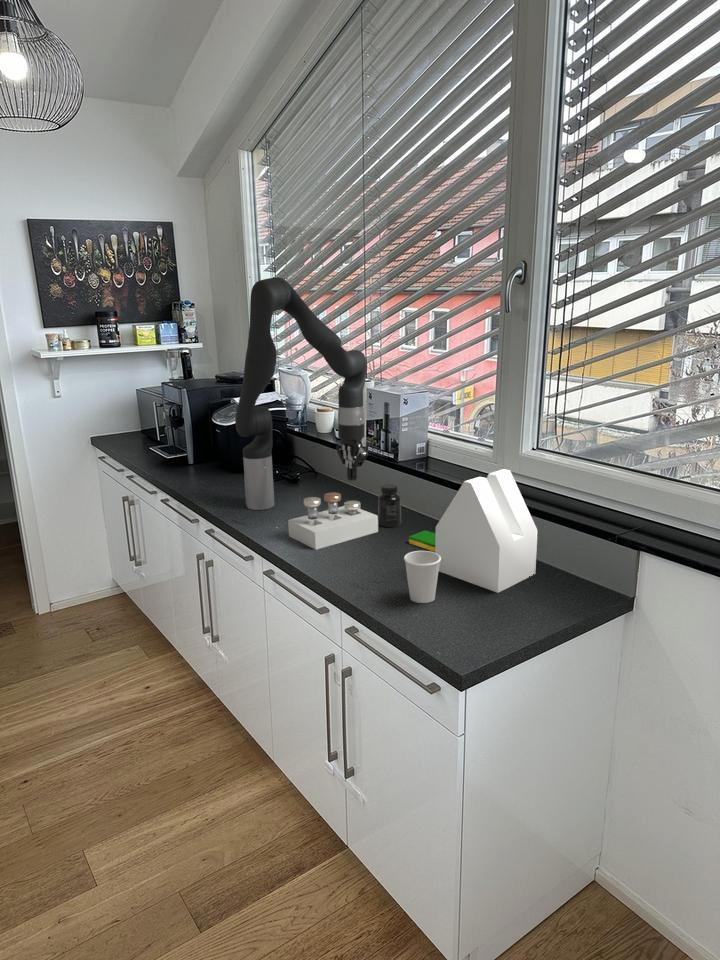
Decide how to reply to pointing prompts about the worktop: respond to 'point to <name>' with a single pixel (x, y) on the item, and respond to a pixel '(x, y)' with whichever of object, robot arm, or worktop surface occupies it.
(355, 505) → the knob
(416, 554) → the dixie cup
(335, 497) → the knob centre
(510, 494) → the white house-shaped block
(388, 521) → the supplement bottle
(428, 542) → the dish sponge
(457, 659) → the worktop surface
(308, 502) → the knob
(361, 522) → the mount
